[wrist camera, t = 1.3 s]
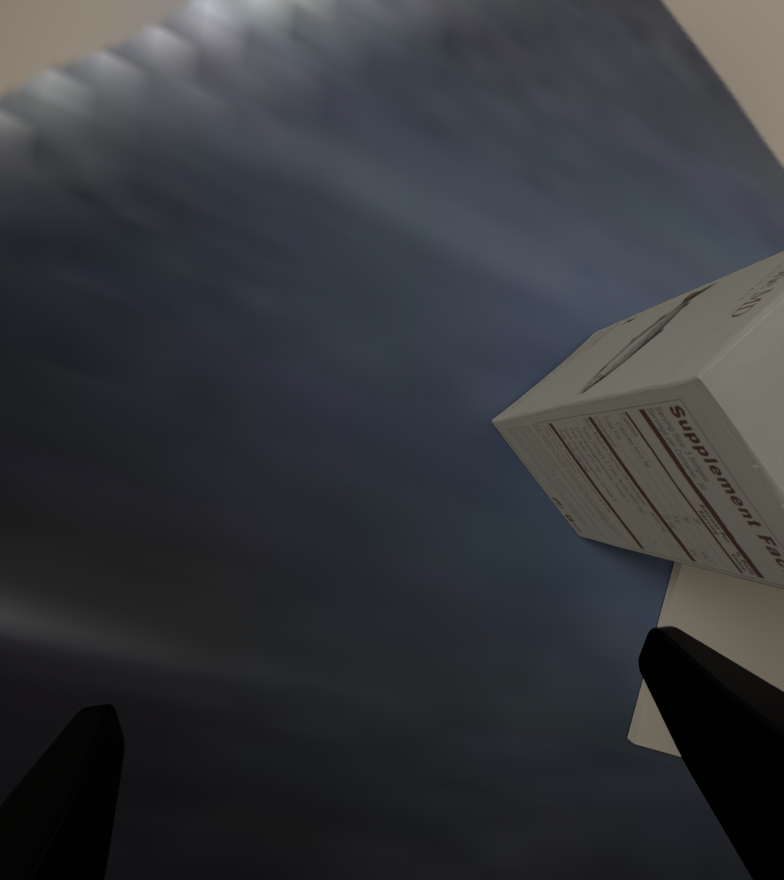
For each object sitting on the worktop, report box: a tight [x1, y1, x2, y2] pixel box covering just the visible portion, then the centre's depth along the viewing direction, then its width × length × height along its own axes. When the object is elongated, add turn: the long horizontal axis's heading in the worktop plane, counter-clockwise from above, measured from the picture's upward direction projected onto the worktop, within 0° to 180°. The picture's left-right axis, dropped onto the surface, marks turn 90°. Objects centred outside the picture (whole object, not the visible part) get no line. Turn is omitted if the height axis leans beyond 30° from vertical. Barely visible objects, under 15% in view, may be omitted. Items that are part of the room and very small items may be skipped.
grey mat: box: [627, 562, 784, 757], centre depth 26 cm, size 18×12×1 cm, turn 161°
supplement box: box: [492, 251, 784, 590], centre depth 19 cm, size 7×7×13 cm
